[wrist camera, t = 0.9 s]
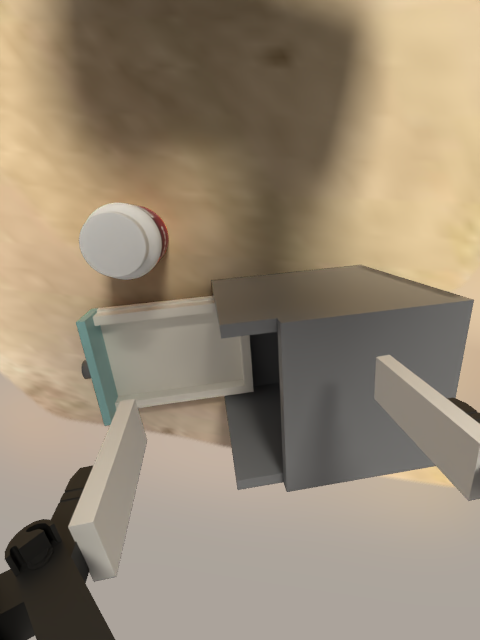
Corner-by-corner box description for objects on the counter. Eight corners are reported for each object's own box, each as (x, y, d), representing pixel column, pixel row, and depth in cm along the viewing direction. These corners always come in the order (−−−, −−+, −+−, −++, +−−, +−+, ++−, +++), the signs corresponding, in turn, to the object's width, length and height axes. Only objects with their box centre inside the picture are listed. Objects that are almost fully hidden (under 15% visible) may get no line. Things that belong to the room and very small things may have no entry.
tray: (243, 292, 35) (249, 302, 30) (250, 383, 39) (256, 403, 34) (79, 310, 33) (62, 323, 29) (105, 403, 37) (93, 427, 33)
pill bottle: (158, 274, 34) (141, 300, 23) (102, 252, 32) (56, 270, 22) (177, 220, 32) (168, 223, 22) (119, 194, 31) (79, 184, 20)
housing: (360, 264, 36) (473, 299, 21) (354, 374, 41) (442, 464, 26) (211, 280, 35) (220, 330, 20) (223, 392, 40) (239, 500, 25)
